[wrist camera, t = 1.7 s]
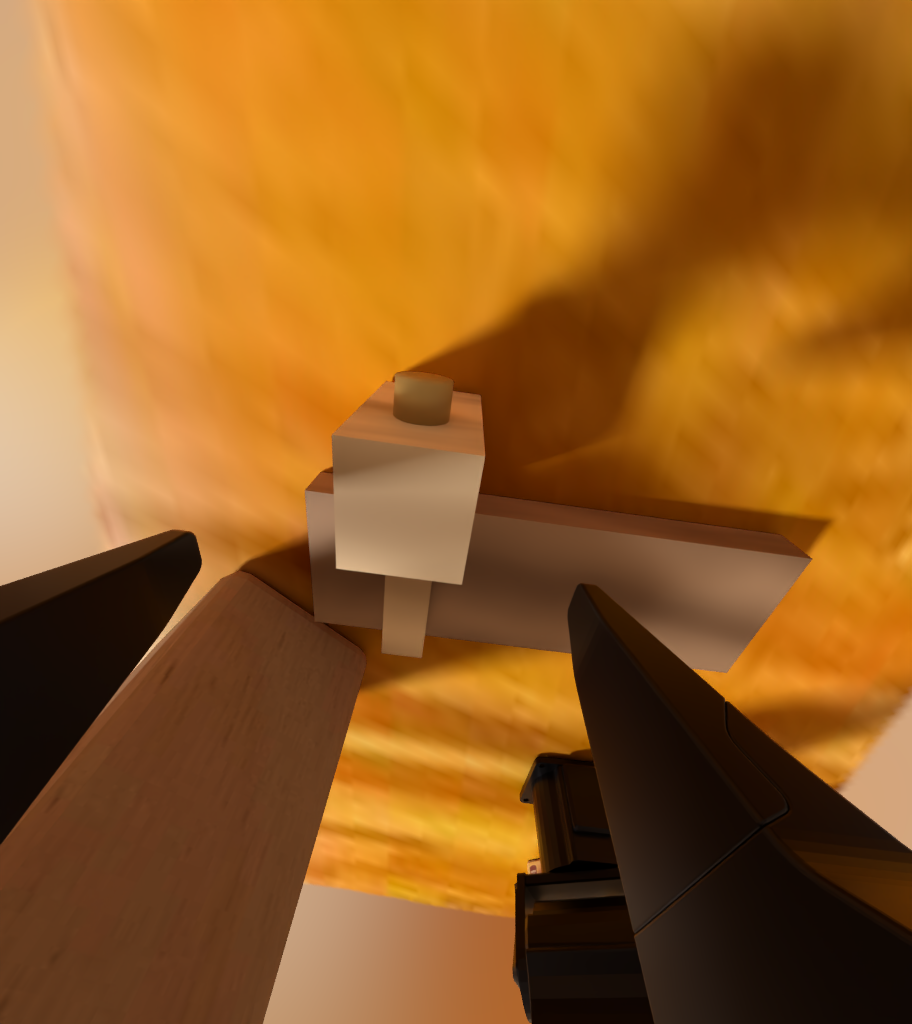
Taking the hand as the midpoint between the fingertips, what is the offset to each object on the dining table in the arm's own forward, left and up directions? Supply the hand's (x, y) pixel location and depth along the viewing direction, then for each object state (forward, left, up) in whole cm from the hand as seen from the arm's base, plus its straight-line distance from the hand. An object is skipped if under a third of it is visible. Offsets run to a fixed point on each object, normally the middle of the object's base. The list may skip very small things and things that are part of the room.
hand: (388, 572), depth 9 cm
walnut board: (-6, -6, -10) cm, 13 cm away
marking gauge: (-3, 0, -9) cm, 10 cm away
